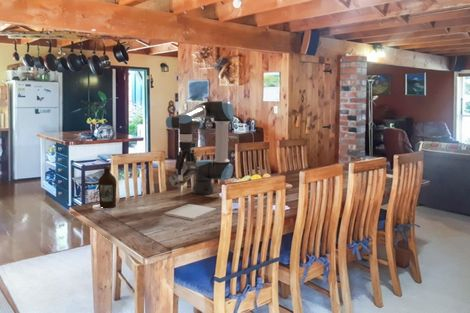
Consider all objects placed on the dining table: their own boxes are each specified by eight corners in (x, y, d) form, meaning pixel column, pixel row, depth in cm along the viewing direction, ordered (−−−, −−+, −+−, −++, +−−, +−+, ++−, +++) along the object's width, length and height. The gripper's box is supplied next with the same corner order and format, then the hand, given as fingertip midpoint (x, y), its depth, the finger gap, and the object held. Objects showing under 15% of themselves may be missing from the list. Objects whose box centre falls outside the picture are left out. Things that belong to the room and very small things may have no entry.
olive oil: (100, 204, 265) (99, 165, 261) (118, 204, 266) (117, 164, 262) (97, 209, 254) (96, 168, 251) (115, 208, 256) (114, 168, 252)
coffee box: (173, 186, 249) (189, 169, 242) (167, 178, 251) (183, 161, 244) (183, 185, 256) (199, 169, 249) (178, 177, 259) (193, 160, 251)
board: (188, 205, 266) (188, 203, 266) (216, 210, 257) (216, 208, 256) (164, 214, 245) (164, 212, 245) (193, 220, 236) (193, 218, 236)
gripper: (191, 139, 258) (191, 175, 261) (168, 142, 239) (168, 181, 242) (201, 140, 254) (201, 176, 258) (179, 143, 235) (179, 182, 239)
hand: (185, 179), depth 250 cm, fingers closed on coffee box, 9 cm apart
